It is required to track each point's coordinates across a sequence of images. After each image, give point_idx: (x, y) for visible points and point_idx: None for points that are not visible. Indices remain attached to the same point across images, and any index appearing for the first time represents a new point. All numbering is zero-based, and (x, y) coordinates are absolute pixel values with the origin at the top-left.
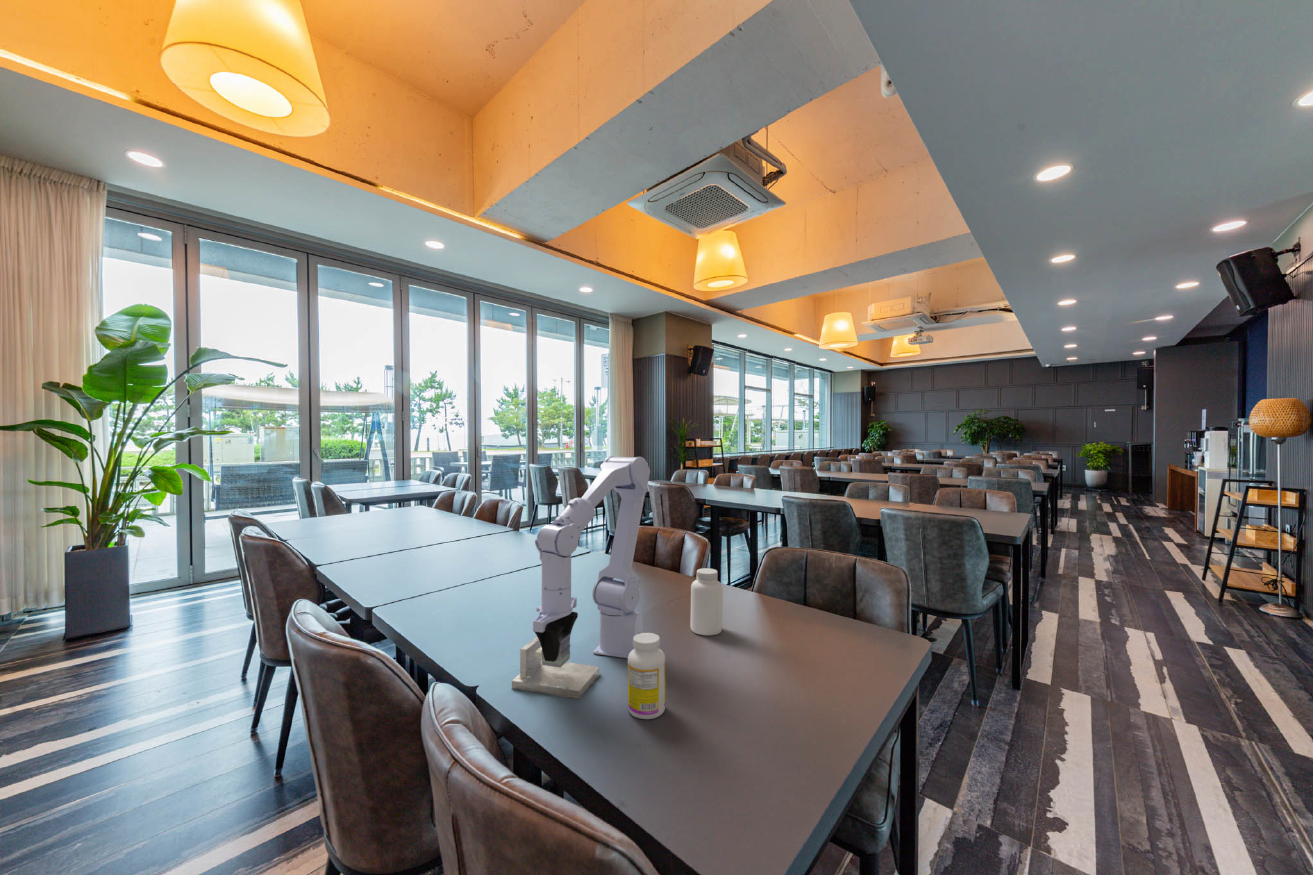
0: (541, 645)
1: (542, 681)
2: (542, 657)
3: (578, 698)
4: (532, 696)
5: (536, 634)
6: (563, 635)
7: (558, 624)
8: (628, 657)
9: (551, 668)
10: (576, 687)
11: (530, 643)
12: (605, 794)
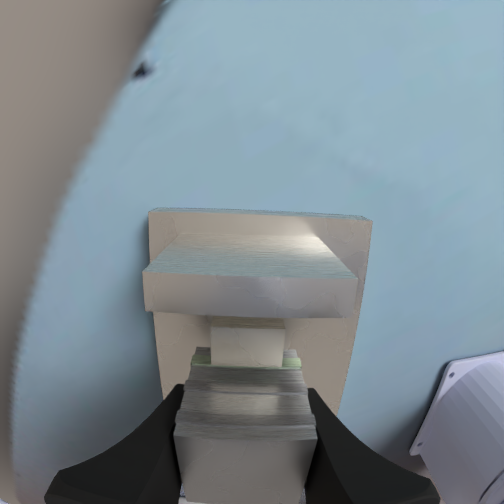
0: (140, 427)
1: (180, 332)
2: (191, 369)
3: None
4: (136, 306)
5: (84, 464)
6: (264, 496)
7: (325, 499)
8: None
9: (290, 321)
10: None
11: (245, 294)
12: (14, 463)
